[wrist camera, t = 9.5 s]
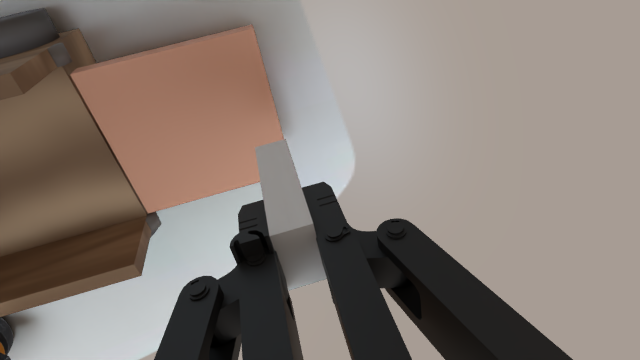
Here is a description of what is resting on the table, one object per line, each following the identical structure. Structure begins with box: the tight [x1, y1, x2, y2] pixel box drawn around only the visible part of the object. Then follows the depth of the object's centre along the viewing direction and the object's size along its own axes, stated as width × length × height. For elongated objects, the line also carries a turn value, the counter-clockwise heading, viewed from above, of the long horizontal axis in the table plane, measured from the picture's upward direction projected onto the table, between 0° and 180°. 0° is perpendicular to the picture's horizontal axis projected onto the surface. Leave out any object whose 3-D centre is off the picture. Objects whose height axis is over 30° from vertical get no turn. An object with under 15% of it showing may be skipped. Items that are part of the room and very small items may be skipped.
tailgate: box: [70, 25, 284, 213], centre depth 25 cm, size 10×2×10 cm
